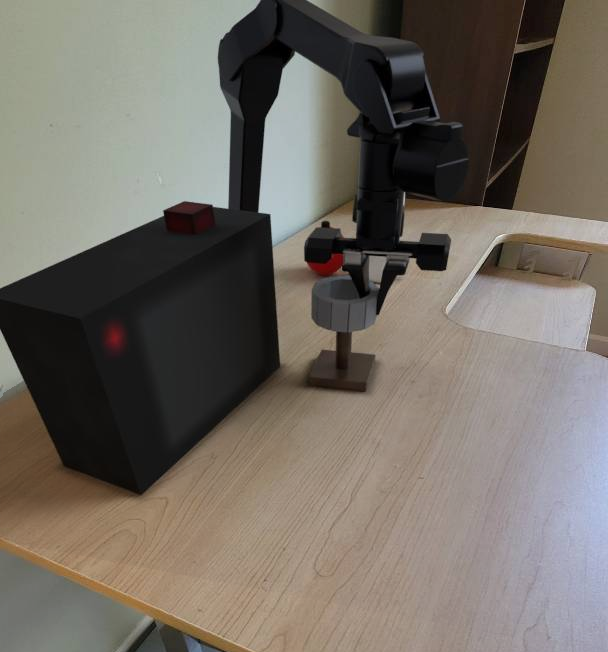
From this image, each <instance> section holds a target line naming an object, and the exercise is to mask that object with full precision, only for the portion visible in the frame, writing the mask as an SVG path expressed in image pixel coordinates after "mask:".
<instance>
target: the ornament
mask: <svg viewBox="0 0 608 652" xmlns="http://www.w3.org/2000/svg"><path fill="white" fill-rule="evenodd" d="M319 227H320V228H334V227H333V226H331V222H330V221H329V220H322V221H321V223H320V226H319ZM309 236H310V234H309V235H308V236H307V238H308V237H309ZM341 238H345V236H343V234H342V233H341ZM343 262H344V258H343V254H333V257H332V258H331V259H330V260H329V261H328V262H327V263H326V264H319V263H307V262H306V264H307V266H308V267H309V269H310V270H312V271H313V272H314V273H316V274H318V275H321V276H330V275H333V274H335V273H336V272H338V271H339V270H340V269H342V265H343Z"/></svg>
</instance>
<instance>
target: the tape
mask: <svg viewBox="0 0 608 652" xmlns="http://www.w3.org/2000/svg"><path fill="white" fill-rule="evenodd" d="M379 289H380V286H378V285H377V284H376V283H375V282H372V281H369V292H370V294H369V295H367V296H365V297H363V298H361V299H360V298H359V295H358V292H357V289H356V287H355V285H354V283H353V281H352V279H351V277H350V275H338V276H329V277H324V278H322V279H320V280H318V281H316V282H315V283H314V284H313V286H312V288H311V295H310V296H311V301H310V307H311V309H310V311H311V313H310V316H311V317H310V318H311V320H312V321H313V323H314V324H315V325H316V326H317V327H320V328H322V329H325V330H327V331H330V332H336V331H338V332H347V331H348V332H352V333H353V332H359V331H363V330H366V329H368V328H370V327H372V326H373V325H375V324H376V321H377V318H378V315H376V305H377V300H378V294H379Z"/></svg>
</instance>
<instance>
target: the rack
mask: <svg viewBox="0 0 608 652" xmlns="http://www.w3.org/2000/svg"><path fill="white" fill-rule="evenodd" d="M352 341H353V332H348V331H347V332H338V331H335V350H331V349H321V350H320V352H319V353H318V356H317V358H316V360H315V363H314V365H313V367H312V369H311V371H310V373H309V375H308V386H310V387H311V386H312V387H321V388H332V389H341V390H350V391H358V392H359V391H360V392H367V389H368V387H369V384H370V381H371V377H372V374H373V371H374V367H375V364H376V356H377V355H376V354H374V353H364V352H354V351H352Z"/></svg>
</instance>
